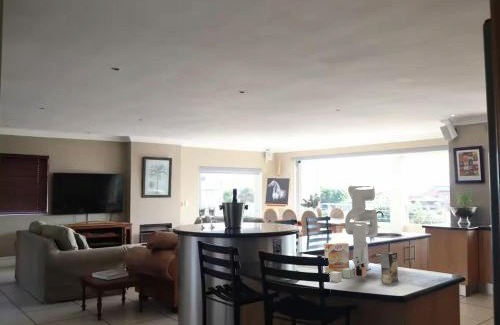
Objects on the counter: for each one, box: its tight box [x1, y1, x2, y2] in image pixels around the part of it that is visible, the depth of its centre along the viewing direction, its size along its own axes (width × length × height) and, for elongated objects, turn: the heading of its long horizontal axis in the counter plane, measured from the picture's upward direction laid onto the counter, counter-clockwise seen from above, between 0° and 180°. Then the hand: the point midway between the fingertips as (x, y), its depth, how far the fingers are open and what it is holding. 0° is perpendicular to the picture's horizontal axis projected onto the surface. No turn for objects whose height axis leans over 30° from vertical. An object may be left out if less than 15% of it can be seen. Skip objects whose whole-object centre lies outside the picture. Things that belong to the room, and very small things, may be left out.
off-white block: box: [329, 271, 343, 283], centre depth 257 cm, size 5×5×5 cm
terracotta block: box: [354, 267, 367, 278], centre depth 255 cm, size 5×5×5 cm
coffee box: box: [380, 251, 399, 282], centre depth 257 cm, size 9×6×16 cm
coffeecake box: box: [323, 242, 350, 274], centre depth 284 cm, size 15×7×20 cm, turn 101°
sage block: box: [341, 267, 354, 279], centre depth 268 cm, size 5×5×5 cm
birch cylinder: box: [381, 274, 393, 285], centre depth 247 cm, size 5×5×5 cm
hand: (360, 274), depth 255 cm, fingers closed on terracotta block, 5 cm apart
